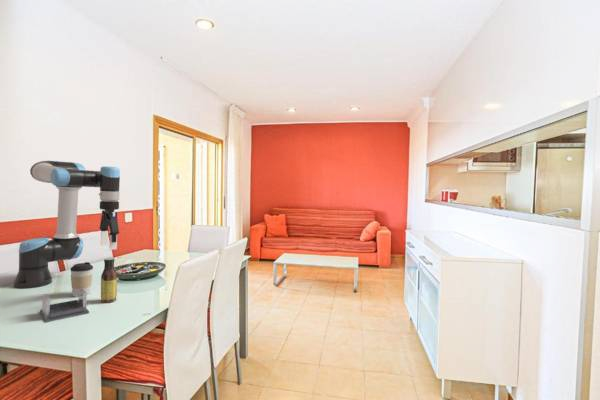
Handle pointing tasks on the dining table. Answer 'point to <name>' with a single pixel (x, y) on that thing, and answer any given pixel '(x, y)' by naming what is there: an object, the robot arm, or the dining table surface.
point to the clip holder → (64, 307)
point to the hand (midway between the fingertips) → (108, 247)
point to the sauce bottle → (109, 281)
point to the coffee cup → (81, 277)
